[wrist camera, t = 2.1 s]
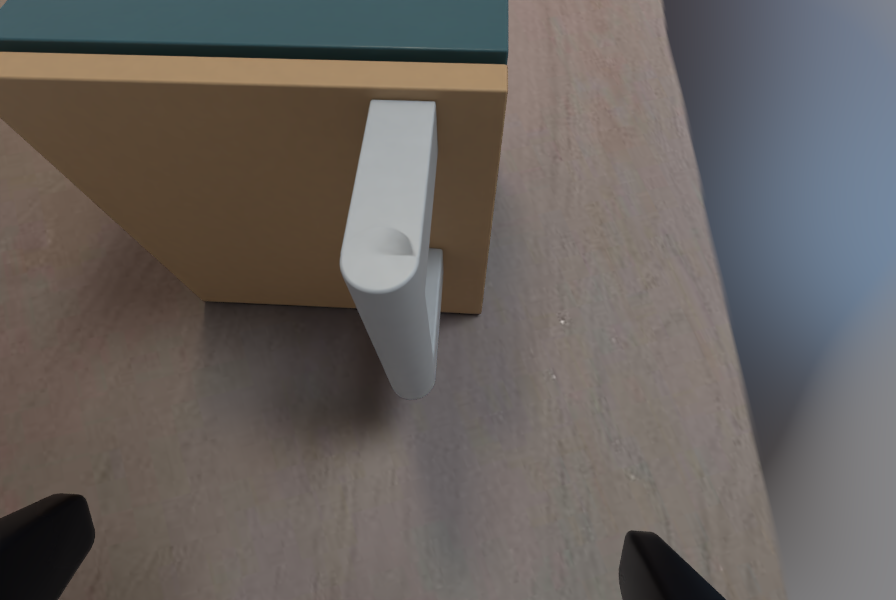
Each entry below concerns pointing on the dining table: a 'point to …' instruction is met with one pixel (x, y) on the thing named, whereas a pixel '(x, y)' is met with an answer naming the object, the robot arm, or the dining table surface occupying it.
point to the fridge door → (286, 178)
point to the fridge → (263, 29)
